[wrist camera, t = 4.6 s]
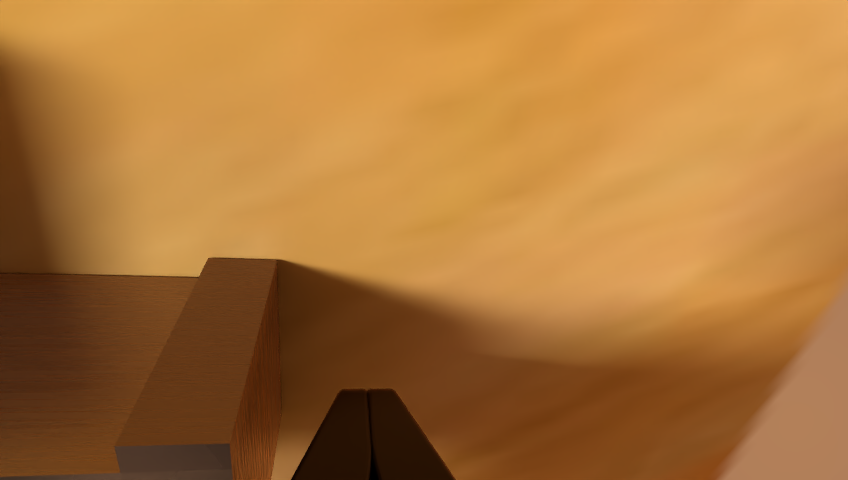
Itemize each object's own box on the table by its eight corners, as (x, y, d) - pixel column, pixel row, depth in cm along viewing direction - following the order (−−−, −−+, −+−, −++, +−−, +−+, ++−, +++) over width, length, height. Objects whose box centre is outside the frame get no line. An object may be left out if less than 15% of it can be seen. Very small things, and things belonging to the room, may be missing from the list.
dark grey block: (281, 414, 9) (246, 631, 6) (-30, 419, 9) (-243, 670, 5) (277, 259, 8) (229, 444, 5) (-96, 249, 7) (-436, 460, 4)
